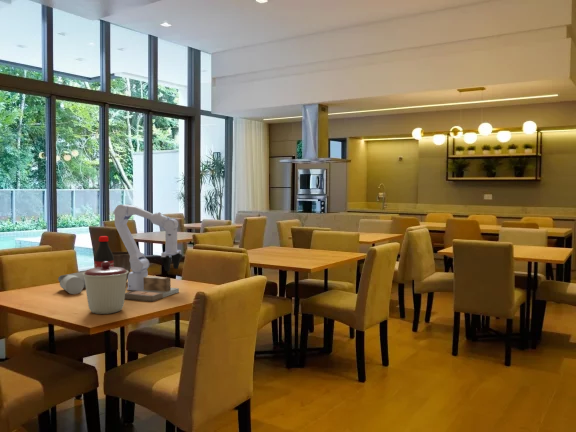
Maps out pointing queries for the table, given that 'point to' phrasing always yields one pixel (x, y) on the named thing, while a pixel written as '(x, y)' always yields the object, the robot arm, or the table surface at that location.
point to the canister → (105, 288)
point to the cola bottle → (103, 253)
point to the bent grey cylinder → (72, 282)
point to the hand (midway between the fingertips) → (171, 269)
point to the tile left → (138, 292)
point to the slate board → (165, 293)
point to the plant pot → (122, 261)
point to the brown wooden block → (157, 283)
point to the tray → (143, 297)
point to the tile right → (150, 293)
